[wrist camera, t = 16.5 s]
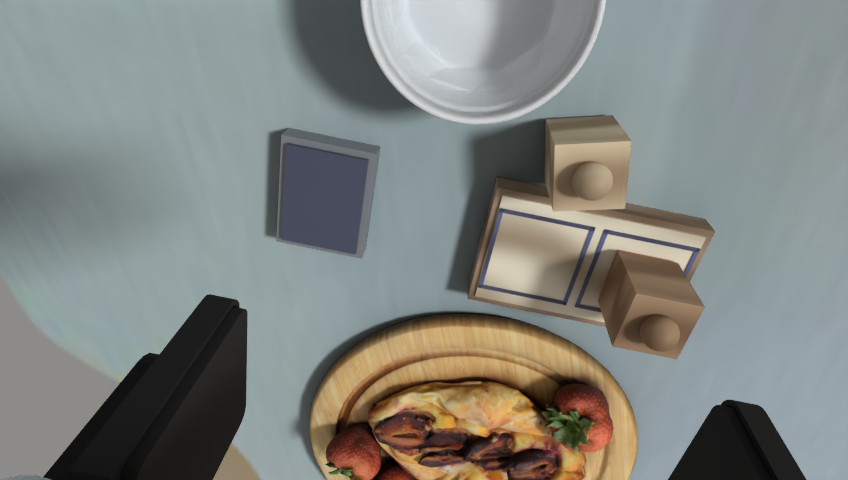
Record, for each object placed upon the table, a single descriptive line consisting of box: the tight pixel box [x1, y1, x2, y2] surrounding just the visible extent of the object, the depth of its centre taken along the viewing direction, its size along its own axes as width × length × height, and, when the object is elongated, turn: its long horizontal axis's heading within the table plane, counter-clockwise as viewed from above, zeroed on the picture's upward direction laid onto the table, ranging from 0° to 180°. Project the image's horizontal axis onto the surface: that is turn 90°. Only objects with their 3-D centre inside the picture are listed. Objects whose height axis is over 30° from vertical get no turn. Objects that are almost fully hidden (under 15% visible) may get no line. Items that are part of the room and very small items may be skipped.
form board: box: [468, 177, 715, 327], centre depth 42 cm, size 10×16×2 cm, turn 80°
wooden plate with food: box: [310, 314, 638, 480], centre depth 51 cm, size 32×32×8 cm
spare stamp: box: [545, 115, 632, 211], centre depth 36 cm, size 4×4×8 cm
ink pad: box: [276, 128, 380, 258], centre depth 42 cm, size 9×7×2 cm
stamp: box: [598, 250, 705, 359], centre depth 38 cm, size 4×4×8 cm
